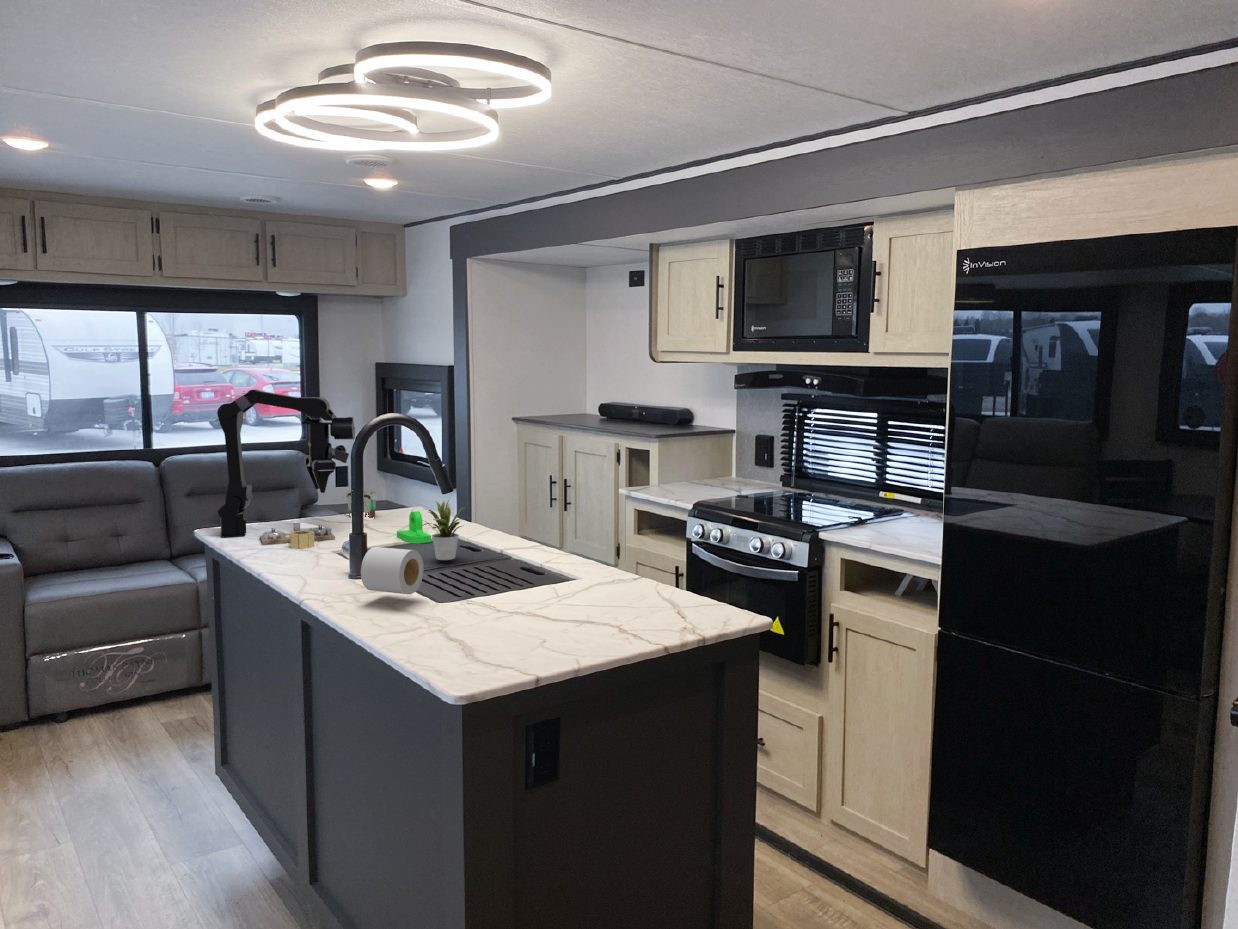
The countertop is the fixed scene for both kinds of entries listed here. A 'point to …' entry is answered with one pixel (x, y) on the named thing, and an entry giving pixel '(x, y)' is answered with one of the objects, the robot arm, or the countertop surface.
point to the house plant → (444, 533)
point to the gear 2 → (321, 531)
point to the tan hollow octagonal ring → (301, 539)
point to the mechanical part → (414, 530)
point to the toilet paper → (392, 570)
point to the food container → (365, 502)
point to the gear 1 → (273, 534)
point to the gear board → (287, 537)
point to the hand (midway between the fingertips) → (320, 490)
